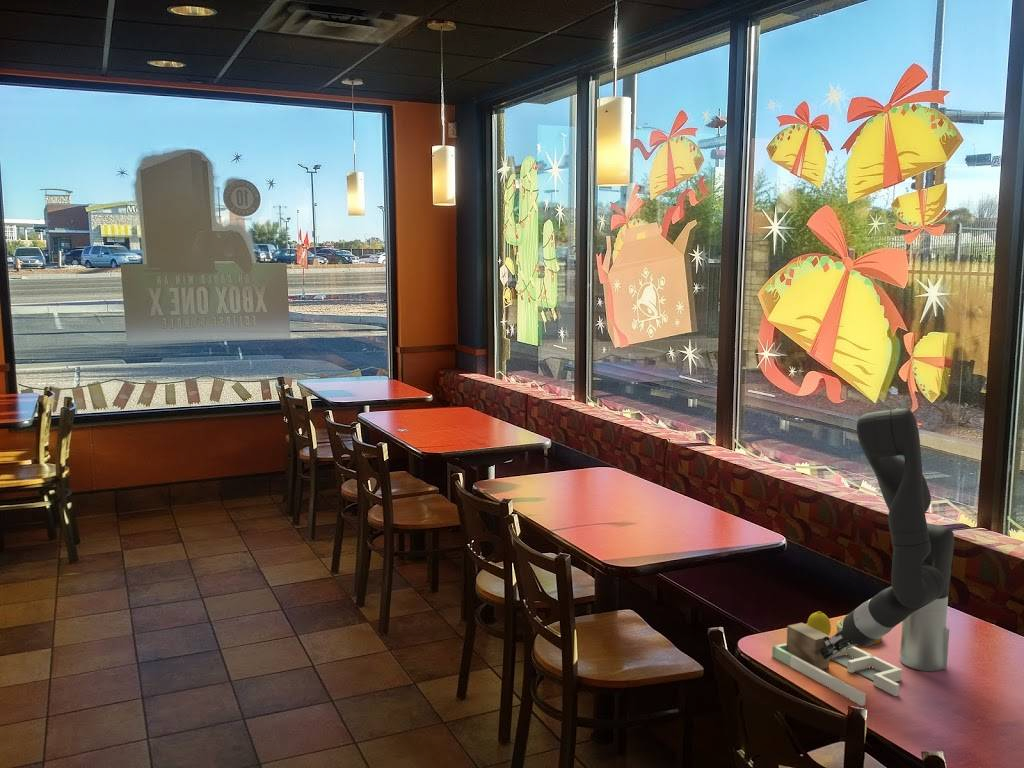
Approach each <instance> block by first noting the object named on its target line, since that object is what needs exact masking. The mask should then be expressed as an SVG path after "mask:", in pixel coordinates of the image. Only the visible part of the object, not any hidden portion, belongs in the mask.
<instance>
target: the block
mask: <svg viewBox="0 0 1024 768" xmlns="http://www.w3.org/2000/svg"><path fill="white" fill-rule="evenodd" d="M786 632H787V633H786V643H787V647H786V651H787V652H789V653H791V654H793V655H794V656H796V657H798V658H800V659H802V660H804V661H806V662H808V663H809V664H811V665H813V666H815V667H817V668H819V669H821V670H824V669H829V668H830V659H829V658H828V659H824V657H823V656H822V654H821V650H822V649H823V648H824V647H825V646H824V644H823V638H824V637H830V638H831V636H830V635H829V636H828V635H826V634H824V633H822V632H820V631H818V630H816V629H814V628H812V627H810V626H808V625H807V623H806V624H805V623H804V622H799V623H794V624H789V625H787V628H786Z"/></svg>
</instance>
